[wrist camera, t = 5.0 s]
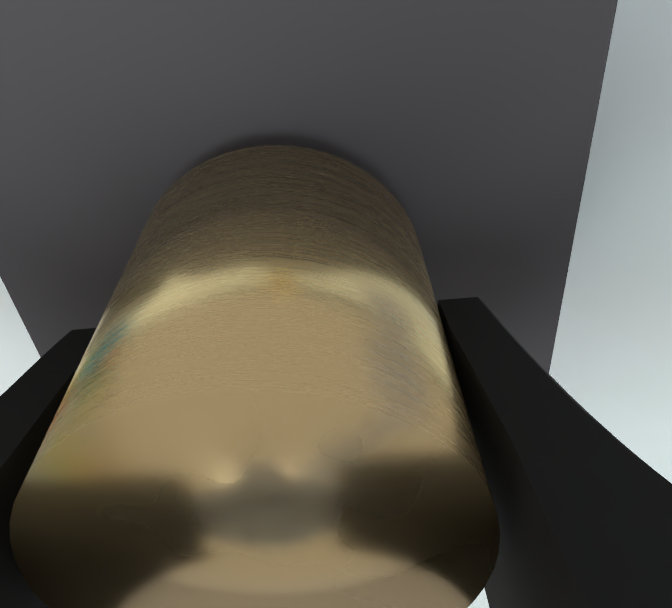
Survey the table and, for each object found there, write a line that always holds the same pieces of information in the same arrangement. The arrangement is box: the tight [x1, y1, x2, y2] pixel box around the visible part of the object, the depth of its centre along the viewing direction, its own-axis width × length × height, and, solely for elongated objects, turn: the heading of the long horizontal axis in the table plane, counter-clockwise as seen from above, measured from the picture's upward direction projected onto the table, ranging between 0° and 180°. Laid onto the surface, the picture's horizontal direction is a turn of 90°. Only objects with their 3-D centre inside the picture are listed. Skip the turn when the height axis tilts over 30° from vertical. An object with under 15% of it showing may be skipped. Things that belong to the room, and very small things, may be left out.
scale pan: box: [0, 0, 618, 374], centre depth 10 cm, size 11×15×1 cm
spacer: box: [10, 145, 500, 608], centre depth 9 cm, size 5×5×6 cm
